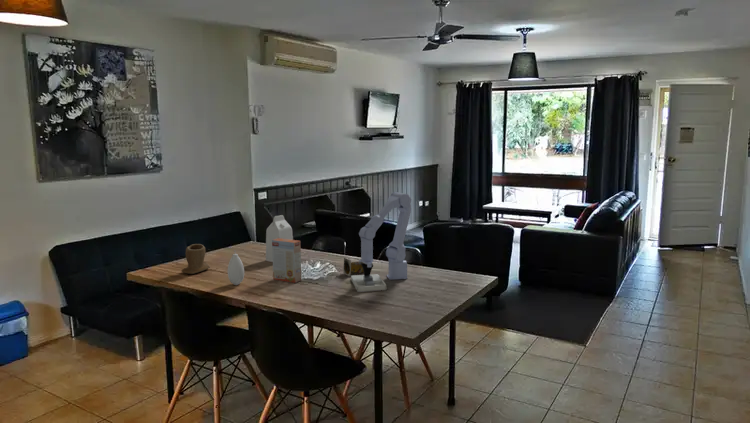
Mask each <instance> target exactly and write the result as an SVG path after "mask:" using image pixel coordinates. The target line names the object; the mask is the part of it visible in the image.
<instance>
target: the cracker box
mask: <svg viewBox="0 0 750 423" xmlns="http://www.w3.org/2000/svg"><path fill="white" fill-rule="evenodd" d="M301 243H302V242H301V240H297V239H296V240H295V239H293V240H290V239H282V238H277V239H274V240H272V253H273V262H272V278H273V280H275V281H282V282H287V283H292V284H295V283H298V282H301V281H302V251H301V249H302V248H301Z"/></svg>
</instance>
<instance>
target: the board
mask: <svg viewBox="0 0 750 423" xmlns="http://www.w3.org/2000/svg"><path fill="white" fill-rule="evenodd" d="M371 275H372V277H373V281H374V283H375V284H381V280H383V279H382V278H381V276H380V275H379V274H377V273H376V274H375V273H374V274H371ZM363 276H364V274H359V275H358V274H357V275H356V274H354V275H353V274H352V275H350V280H351V282H352V284H353V285H354V281H356V283H357V285H365V281H364V280H363Z"/></svg>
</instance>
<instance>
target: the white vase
mask: <svg viewBox="0 0 750 423" xmlns="http://www.w3.org/2000/svg"><path fill="white" fill-rule="evenodd" d="M227 276H228V277H227V278H228V281H229V282H230V283H231V284H233V285H234V286H239V285H240V284H241V283H242V282H243V280H244V277H245V266H244V264H243V261H242V260H241V258H240V256H239V255H238V253H237V252H236V251H234V253H233V254H232V255H231V257H230V260H229V262H228V264H227Z"/></svg>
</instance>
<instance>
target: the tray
mask: <svg viewBox="0 0 750 423" xmlns="http://www.w3.org/2000/svg"><path fill="white" fill-rule="evenodd" d="M353 286H354V288H355V290H356V292H357V293H361V292H362V293H363V292H364V293H365V292H376V291H377V292H379V291H381V290H382V291H387V284H386V282H385V281H384V280H383V279H382V280H381V284H375V286H365V285H357V283H356V281H354V284H353Z"/></svg>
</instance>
